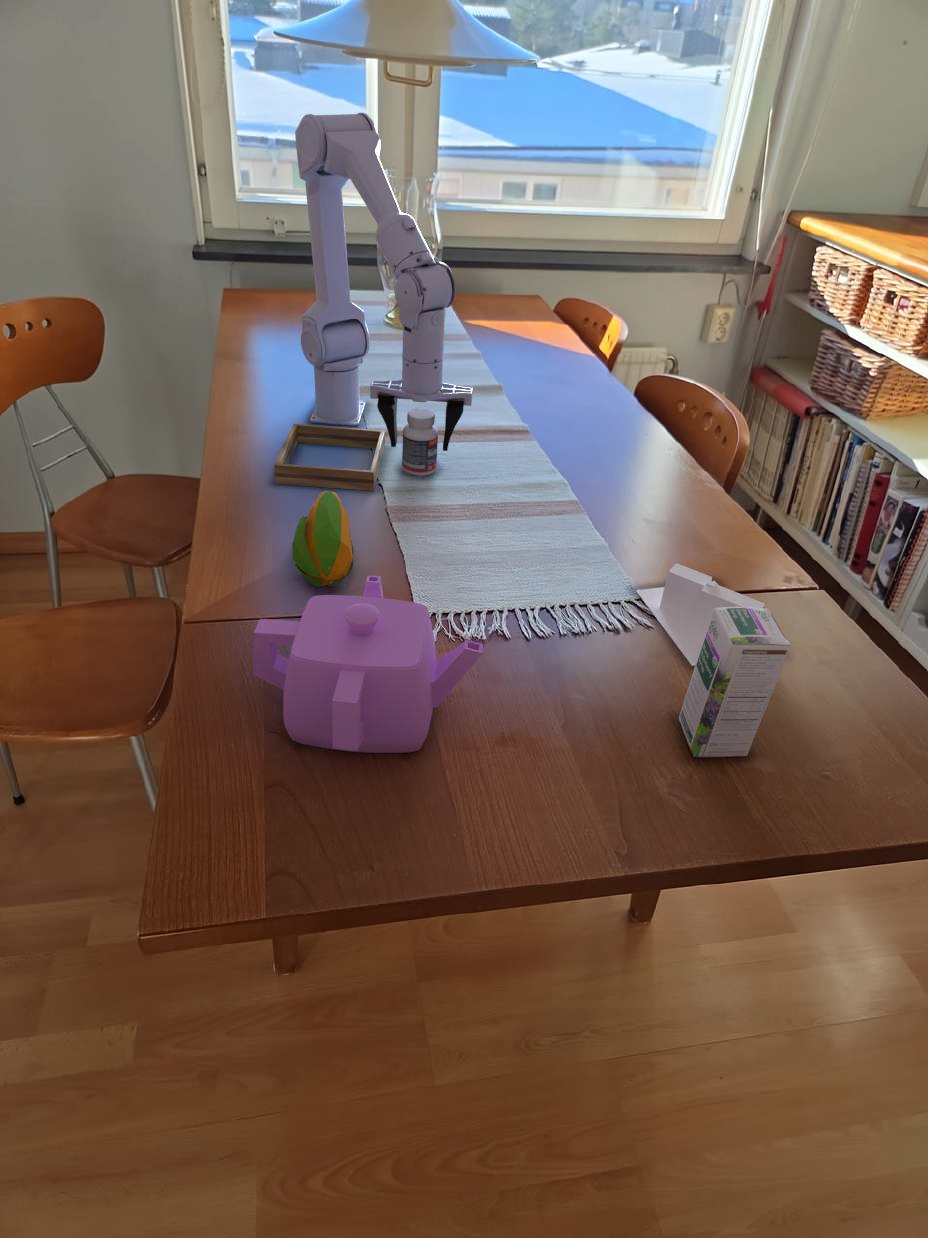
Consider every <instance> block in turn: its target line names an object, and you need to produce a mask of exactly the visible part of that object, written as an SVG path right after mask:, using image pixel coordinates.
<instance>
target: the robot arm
mask: <svg viewBox="0 0 928 1238" xmlns="http://www.w3.org/2000/svg"><path fill="white" fill-rule="evenodd" d="M294 135H295V136H294V137H295V138H294V139H295V148H296V158H297V159H296V160H297V167H298V175H299V178H300V179H301V180H302V181H304V183H305V194H306V204H307V215H308V224H309V235H310V245H311V256H312V267H313V277H314V287H315V297H316V300H315V301H314V303H312V305H310V307H309V308H308V309H307V310H306V311H305V312H304V313H303V314H302V316H301V323H302V325H301V326H302V327H301V335H300V347H301V350H302V353H303V354H302V355H303V356H304V358H305V359H306V361H307V362H308V363H309V364H310V365H311V366H313V374H314V375H313V376H314V396H315V397H314V398H315V399H314V400H315V407H314V410H313V411H312V414H311V416H310V418H309V422H310V423H312V424H313V423H314V424H316V423H317V424H326V425H327V424H328V425H338V426H339V425H340V426H354V427H357V426H359V425H360V422H361V418H362V416H363V414H364V413H363V412H364V410H365V407H366V401H365V400H361V399H360V398H361V397H360V395H361V394H360V393H361V392H360V389H361V388H360V387H361V386H360V365H362V364H363V363H364V360H363V359H364V357H366V356H367V355H368V353H369V351H370V346H371V335H370V331H369V329H368V326H367V322H366V316H365V311H364V310H363V309H361V307H359V306H358V305H357V304H355V303H354V302H353V301H351V289H350V278H349V276H350V275H349V264H348V250H347V239H346V238H347V237H346V227H345V225H346V224H345V212H344V211H345V210H344V198H343V188H344V186H345V185H346V184H347V182H348V181H349V180H350V181H351V183H352V184H353V187H354V188H355V189H356V190H357V192H358V194H359V196H360V197H361V199H362V201H363V202H364V204H365V206H366V208H367V209H368V211H369V212H370V214H371V216H372V217H373V219H374V221H375V222H376V224H377V228H376V232H375V240H376V242H377V244H378V246H379V249H380V250H381V252H382V255H383V257H384V258H385V260H386V263H387V264H388V266H389V269H390V270H391V272H392V274H393V277H394V279H395V280H396V282H395V285H393V293H394V298H395V301H396V304H397V307H398V318H399V321H400V324H401V325H402V350H401V351H402V355H401V356H402V358H401V367H402V368H401V379H392V380H371V382H370V386H369V390H370V391H369V392H370V393H369V397H370V398H369V399H372V400H377V410H378V412H379V414H380V416H381V417H382V420H383V421H384V424H385V426H386V429H387V430H386V431H387V432H388V436H389V441H390V447H391V448H397V443H398V425H397V424H398V423H397V422H398V421H397V414H398V400H411V401H412V402H414V403H427V402H437V403H438V402H439V403H446V407H445V423H444V424H445V426H444V435H443V443H442V451H443V452H447V451H449V444H450V440H451V438H452V435H453V432H454V430H455V427H456V426H457V424H458V422H459V421H460V419H461V418H462V415H463V413H464V408H465V406H467V407H471V406H472V401H473V387H466V386H459V385H455V384H451V383H446V382H443V373H444V372H443V369H444V349H445V328H446V311H447V310H446V309H447V308H450V307H451V306H452V305H453V303H454V302H455V299H456V294H457V285H456V280H455V277H454V275H453V271H452V269H451V267H450V266H449V265H448V264H447V263H445V262H442V261H441V260H440V259H439V257H438V256H434V255H433V254H432V252H431V250H430V248H429V246H428V244H427V242H426V240H425V239H424V237H423V234H422V232H421V231H420V228H419V226H418V225H417V224H418V223H416V220H415V218H414V217H413V215H410V214H408V213H404V212H402V211H401V209H400V206H399V204H398V201H397V200H396V197H395V195H394V192H393V190H392V186H391V185H390V182H389V180H388V177H387V175H386V172H385V170H384V168H383V165H382V162H381V160H380V153H381V136H380V135H379V133H378V131H377V127H376V125H375V123H374V121H373V119H372V118H371V116H370V115H369V114H367V113H365V112H358V113H346V114H313V113H307V114H305V115H303V117H302V118H301V119H300V121H299V124H298V126H297V128H296V129H295V132H294Z"/></svg>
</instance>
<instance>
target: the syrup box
mask: <svg viewBox="0 0 928 1238" xmlns="http://www.w3.org/2000/svg"><path fill="white" fill-rule="evenodd" d="M791 647H792V643H790V641H789V640H788V639H787V638H786V636H785V634H784V632H783V630H782V628H781V626H780V624H779V623H778V621H777V620H776V618H775V616H774V615H773V613H772V611H771V610H770V609H769V608H764V609H763V608H754V607H720V608H714V609H713V613H712V616H711V619H710V622H709V625H708V628H707V631H706V634H705V638H704V641H703V644H702V647H701V650H700V653H699V656H698V659H697V662H696V665H695V666H694V669H693V672H692V676H691V678H690V681H689V684H688V687H687V691H686V694H685V697H684V700H683V703H682V707H681V709H680V713H679V717H678V721H679V723H680V726H681V729H682V732H683V734H684V737H685V739H686V743H687V745H688V747H689V750H690V752H691V754H692V756H693V758H727V757H730V758H731V757H747V756H748V754H749V752H750V749H751V747H752V745H753V742H754V739H755V738H756V735H757V732H758V730H759V728H760V724H761V723H762V720H763V717H764V714H765V712H766V709H767V707H768V705H769V703H770V699H771V697H772V695H773V692H774V689H775V687H776V684H777V682H778V679H779V676H780V675H781V672H782V670H783V667H784V665H785V661H786V659H787V657H788V654H789V652H790V649H791Z"/></svg>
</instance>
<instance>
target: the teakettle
mask: <svg viewBox="0 0 928 1238" xmlns="http://www.w3.org/2000/svg"><path fill="white" fill-rule="evenodd" d="M278 645H283V646H284V645H285V646H291V649H290V654H289V658H287V657H285V656H283V655H281V654H280V653H279V648H278ZM483 645H484V644H483V643H481V642H477V641H474V640H469V639H464V641H463V642H462V643H460V644H459V645H458V646H456V647H455V648H453V649H452V650H450V651H449V652H447V653H446V654H444V655H442V656H441V657H440V658H439V659H437V653H436V641H435V635H434V631H433V625H432V621H431V616H430V612H429V608H428V606H426V605H424V604H421V603H418V602H414V601H409V600H401V599H394V598H387V597H384V592H383V584H382V575H370V574H369V575H367V577H366V580H365V586H364V589H363V594H362V595H343V594H341V595H340V594H321V595H314V596H311V597H310V598H309V599H308V601H307V603H306V604H305V607H304V610H303V611H302V615H301V617H300V619H299V621H298V620H285V619H269V618H259V620H258V622H257V624H256V627H255V628H254V631H253V653H252V654H253V657H252V658H253V659H252V661H253V662H252V665H253V666H252V675H253V676H255V677H257V678H259V679H261V680H263V681H265V682H267V683H268V684H271V685H273V686H275V687H277V688H278V689H281V690H282V691H283V698H282V701H283V702H282V712H283V713H282V714H283V725H284V728H285V730H286V733H287V734H288V736H289V737H290V739H291V740H292V741H293V742H295V743H298V744H302V745H305V746H311V747H314V748H315V747H316V748H322V749H327V750H335V751H341V752H349V753H352V752H353V753H362V754H364V753H365V754H366V753H367V754H404V753H415V752H417V751H419V750H421V749H422V747H423V745H424V743H425V742H426V741H425V740H426V738H427V737H428V733H429V729H430V725H431V720H432V715H433V710H434V709H436V708H438V707H439V706H440V704H441V703H442V702H443V701H444V700H445V698H446V697H448V695H449V693H451V691H452V690H453V689H454V688H455V687H456V685H458V683H459V682H460V681H461V680H462V679H463V677H465V675H466V674H467V673H468V672H469V670H470V669H471V668H472V667H473V666H474V665H475V663H477V661H478V660H479V659H480V657H481V656H482V655H483V647H484V646H483Z"/></svg>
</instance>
